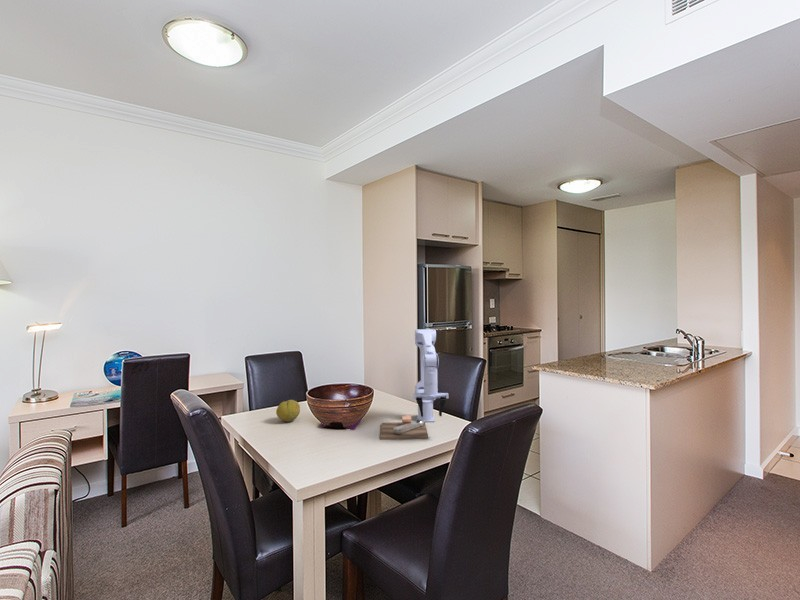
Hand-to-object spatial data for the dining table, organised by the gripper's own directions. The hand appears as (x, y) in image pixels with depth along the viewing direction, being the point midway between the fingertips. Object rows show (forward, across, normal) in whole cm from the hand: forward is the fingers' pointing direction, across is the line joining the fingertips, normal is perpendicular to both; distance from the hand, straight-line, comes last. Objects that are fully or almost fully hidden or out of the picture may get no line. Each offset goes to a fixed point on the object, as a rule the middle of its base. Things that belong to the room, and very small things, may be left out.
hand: (431, 416), depth 171 cm
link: (+8, -8, +11) cm, 16 cm away
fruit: (+9, -65, +32) cm, 73 cm away
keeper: (+8, -7, +16) cm, 19 cm away
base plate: (+9, -11, +11) cm, 18 cm away
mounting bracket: (+9, -39, +22) cm, 46 cm away
